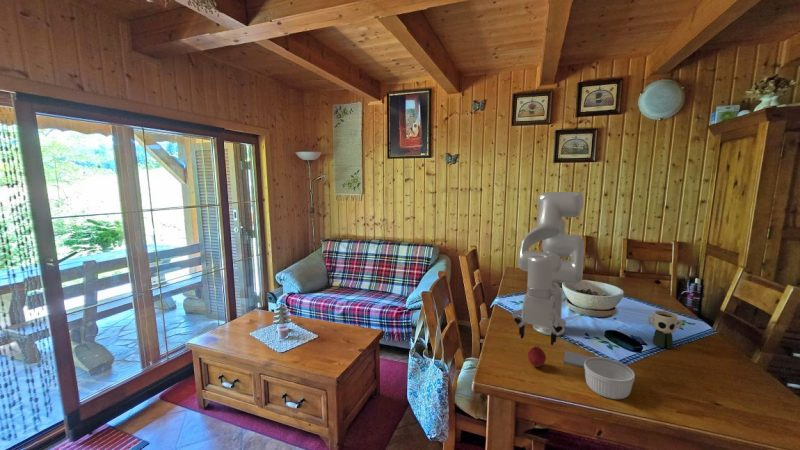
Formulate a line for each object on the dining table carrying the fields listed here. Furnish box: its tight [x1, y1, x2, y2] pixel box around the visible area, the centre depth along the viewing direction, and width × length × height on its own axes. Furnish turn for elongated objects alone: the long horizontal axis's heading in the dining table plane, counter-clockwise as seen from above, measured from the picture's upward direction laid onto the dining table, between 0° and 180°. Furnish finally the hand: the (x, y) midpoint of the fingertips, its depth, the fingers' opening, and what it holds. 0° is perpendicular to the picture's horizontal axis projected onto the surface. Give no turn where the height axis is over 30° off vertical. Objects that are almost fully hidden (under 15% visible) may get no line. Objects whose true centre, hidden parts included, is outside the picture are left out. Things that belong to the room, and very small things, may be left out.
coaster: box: [563, 350, 591, 369], centre depth 117 cm, size 8×8×1 cm
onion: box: [527, 344, 547, 368], centre depth 113 cm, size 6×6×8 cm
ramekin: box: [583, 356, 636, 400], centre depth 101 cm, size 13×13×7 cm
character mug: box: [646, 309, 683, 349], centre depth 125 cm, size 11×7×13 cm, turn 67°
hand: (537, 340), depth 112 cm, fingers open, 9 cm apart
